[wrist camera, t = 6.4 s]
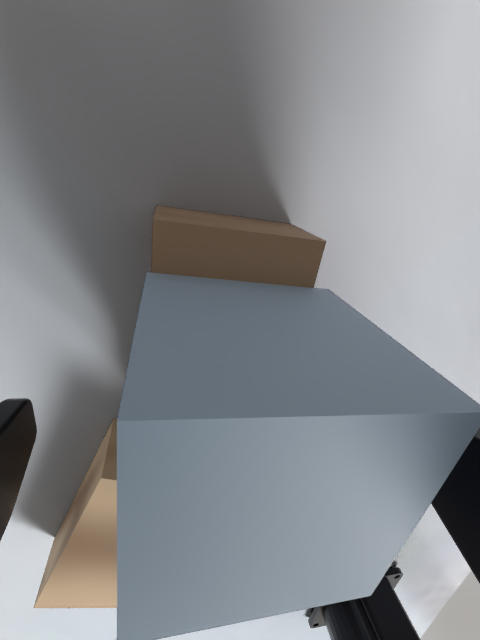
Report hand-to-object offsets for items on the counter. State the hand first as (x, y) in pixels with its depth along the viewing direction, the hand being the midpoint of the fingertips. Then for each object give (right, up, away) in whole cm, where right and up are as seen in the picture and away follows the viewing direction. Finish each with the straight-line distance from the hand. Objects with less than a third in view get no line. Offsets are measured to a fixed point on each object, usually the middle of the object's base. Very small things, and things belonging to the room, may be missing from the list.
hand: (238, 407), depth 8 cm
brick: (-5, -6, +7) cm, 11 cm away
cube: (0, +1, +2) cm, 2 cm away
